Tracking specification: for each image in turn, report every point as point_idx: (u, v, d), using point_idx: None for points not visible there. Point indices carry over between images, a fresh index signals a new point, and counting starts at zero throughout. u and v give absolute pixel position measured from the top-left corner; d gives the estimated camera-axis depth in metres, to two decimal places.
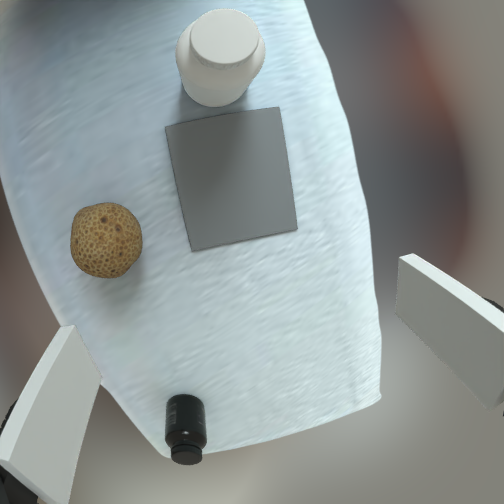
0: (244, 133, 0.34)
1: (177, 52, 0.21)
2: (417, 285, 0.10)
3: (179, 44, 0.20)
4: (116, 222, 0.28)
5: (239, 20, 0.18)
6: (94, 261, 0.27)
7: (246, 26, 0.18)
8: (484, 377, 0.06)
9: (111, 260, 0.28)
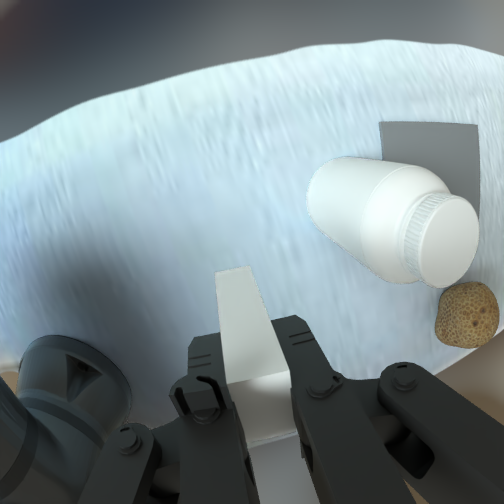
0: None
1: (410, 282, 0.18)
2: None
3: (405, 283, 0.18)
4: (478, 312, 0.26)
5: (440, 225, 0.13)
6: (495, 331, 0.26)
7: (448, 215, 0.13)
8: None
9: (498, 316, 0.26)
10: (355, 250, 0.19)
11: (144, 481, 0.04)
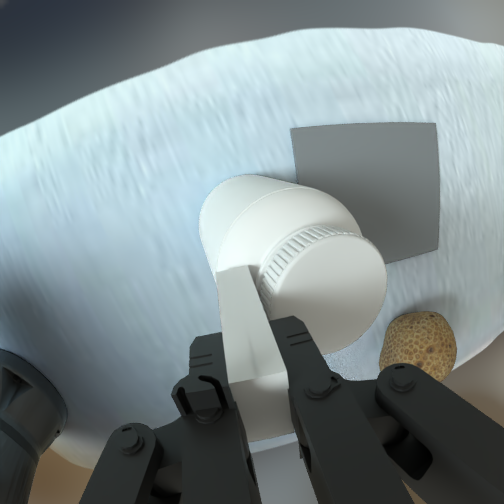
0: (329, 180, 0.25)
1: None
2: None
3: None
4: (423, 351, 0.24)
5: (306, 279, 0.11)
6: (448, 372, 0.23)
7: (321, 263, 0.10)
8: None
9: (452, 355, 0.23)
10: None
11: (146, 481, 0.04)
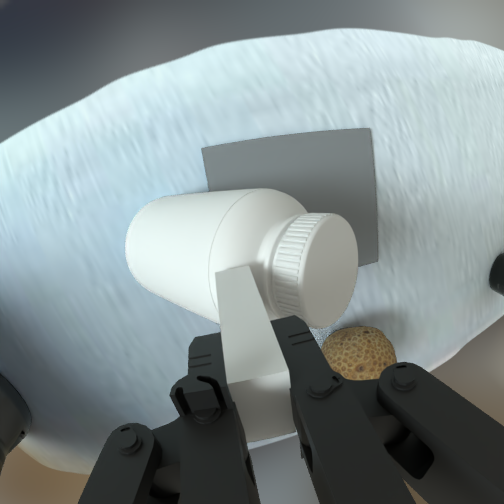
0: None
1: None
2: None
3: None
4: (352, 370, 0.24)
5: (318, 255, 0.12)
6: None
7: (325, 240, 0.12)
8: None
9: None
10: (206, 310, 0.15)
11: (144, 481, 0.04)
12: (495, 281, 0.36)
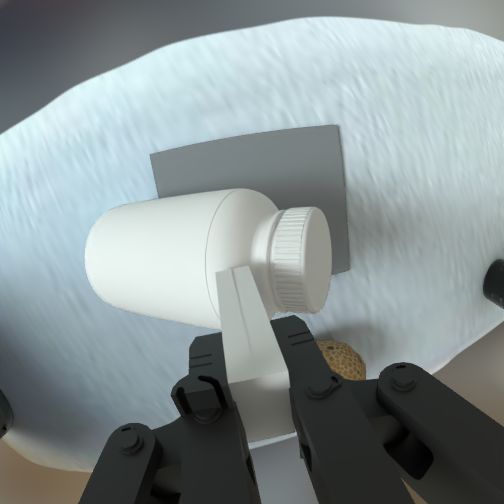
0: None
1: None
2: None
3: None
4: None
5: (311, 245, 0.13)
6: None
7: (313, 231, 0.14)
8: None
9: None
10: (199, 314, 0.14)
11: (145, 481, 0.04)
12: (489, 290, 0.34)
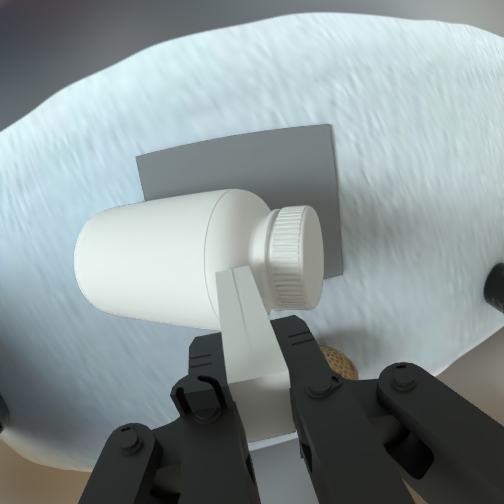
0: None
1: None
2: None
3: None
4: None
5: (308, 242, 0.14)
6: None
7: (309, 229, 0.14)
8: None
9: None
10: (197, 316, 0.14)
11: (145, 481, 0.04)
12: (490, 294, 0.33)
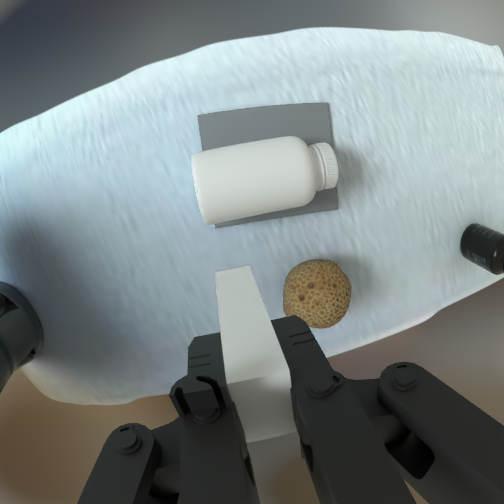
0: None
1: None
2: None
3: None
4: (305, 286, 0.33)
5: None
6: (336, 311, 0.32)
7: None
8: None
9: (338, 295, 0.32)
10: (298, 196, 0.30)
11: (144, 481, 0.04)
12: (465, 248, 0.42)
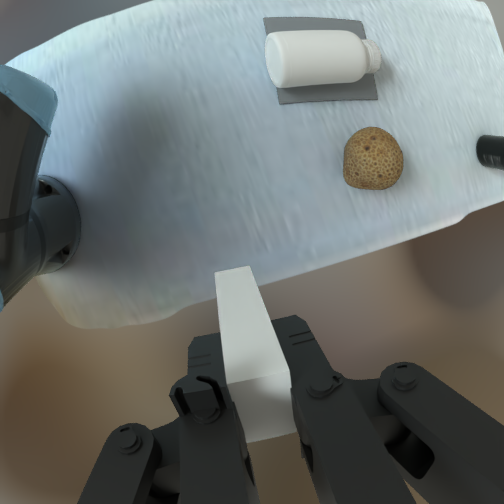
0: None
1: None
2: None
3: (359, 79, 0.34)
4: (368, 139, 0.34)
5: None
6: (396, 161, 0.33)
7: None
8: None
9: (396, 148, 0.33)
10: (355, 65, 0.31)
11: (144, 481, 0.04)
12: (481, 153, 0.44)
